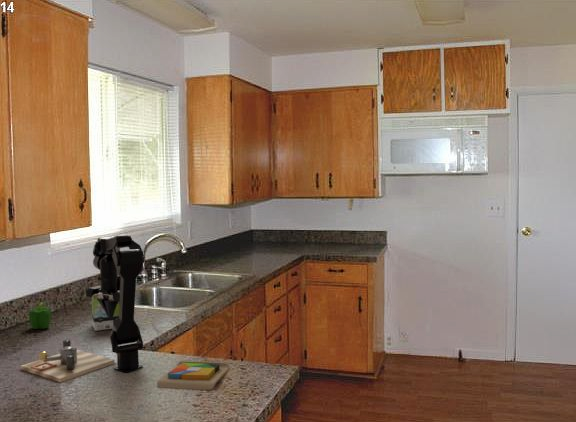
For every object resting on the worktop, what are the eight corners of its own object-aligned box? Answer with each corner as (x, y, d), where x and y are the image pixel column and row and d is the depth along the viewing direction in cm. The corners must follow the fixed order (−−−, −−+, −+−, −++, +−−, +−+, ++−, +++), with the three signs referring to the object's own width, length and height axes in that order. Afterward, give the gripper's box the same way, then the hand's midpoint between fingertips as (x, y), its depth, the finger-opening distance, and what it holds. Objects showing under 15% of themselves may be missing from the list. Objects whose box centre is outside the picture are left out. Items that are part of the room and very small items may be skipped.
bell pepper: (42, 331, 230) (40, 306, 229) (25, 330, 232) (23, 305, 231) (56, 326, 237) (55, 301, 237) (40, 324, 240) (39, 300, 239)
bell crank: (74, 351, 199) (74, 338, 198) (79, 370, 180) (79, 355, 180) (38, 356, 194) (37, 342, 194) (39, 376, 175) (38, 361, 175)
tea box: (94, 331, 228) (93, 294, 227) (92, 325, 237) (90, 289, 236) (133, 327, 234) (132, 290, 233) (130, 321, 243) (128, 286, 242)
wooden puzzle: (230, 369, 185) (230, 358, 185) (213, 392, 167) (213, 380, 167) (177, 366, 188) (177, 356, 188) (155, 389, 170) (155, 377, 169)
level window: (57, 365, 186) (56, 364, 186) (41, 371, 181) (41, 369, 181) (46, 362, 189) (46, 361, 189) (31, 367, 184) (30, 366, 184)
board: (114, 363, 191) (114, 359, 191) (60, 382, 175) (60, 378, 174) (75, 352, 203) (74, 349, 203) (20, 369, 186) (20, 365, 186)
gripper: (145, 272, 201) (147, 316, 203) (110, 267, 212) (112, 309, 213) (119, 277, 192) (121, 324, 194) (84, 272, 203) (86, 316, 204)
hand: (110, 318), depth 201 cm, fingers closed
